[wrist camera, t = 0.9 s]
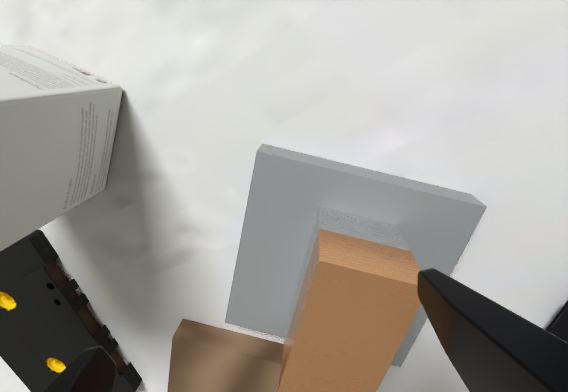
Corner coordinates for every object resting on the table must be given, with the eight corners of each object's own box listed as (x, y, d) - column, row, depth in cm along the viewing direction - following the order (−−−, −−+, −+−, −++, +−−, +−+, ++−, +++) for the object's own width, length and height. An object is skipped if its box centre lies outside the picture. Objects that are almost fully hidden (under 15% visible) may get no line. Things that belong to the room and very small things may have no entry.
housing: (397, 224, 19) (429, 288, 13) (353, 329, 22) (364, 413, 17) (319, 205, 19) (319, 260, 13) (288, 312, 22) (277, 390, 17)
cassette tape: (146, 375, 31) (134, 396, 29) (58, 389, 33) (41, 409, 31) (46, 225, 25) (22, 238, 23) (-52, 254, 27) (-81, 269, 25)
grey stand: (471, 194, 20) (486, 207, 18) (394, 345, 25) (400, 366, 23) (262, 143, 20) (256, 151, 18) (231, 304, 25) (224, 322, 23)
